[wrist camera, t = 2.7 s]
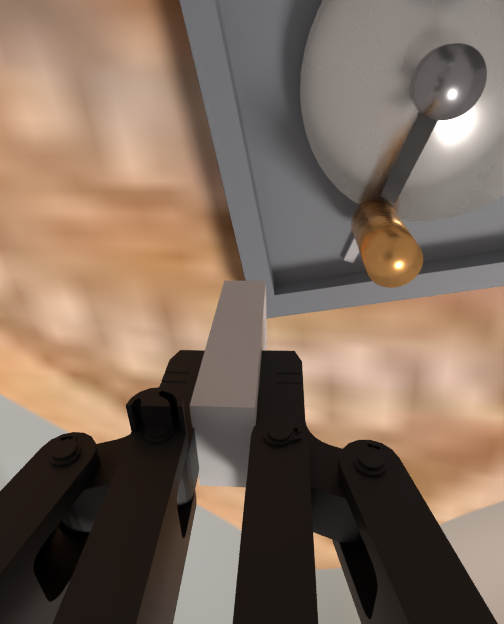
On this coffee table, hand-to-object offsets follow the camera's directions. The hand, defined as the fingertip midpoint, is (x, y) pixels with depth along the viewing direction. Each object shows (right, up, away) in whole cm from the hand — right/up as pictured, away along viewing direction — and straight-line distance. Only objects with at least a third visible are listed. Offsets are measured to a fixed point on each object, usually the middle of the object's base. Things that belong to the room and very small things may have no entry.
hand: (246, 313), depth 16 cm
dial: (+9, +11, +5) cm, 15 cm away
